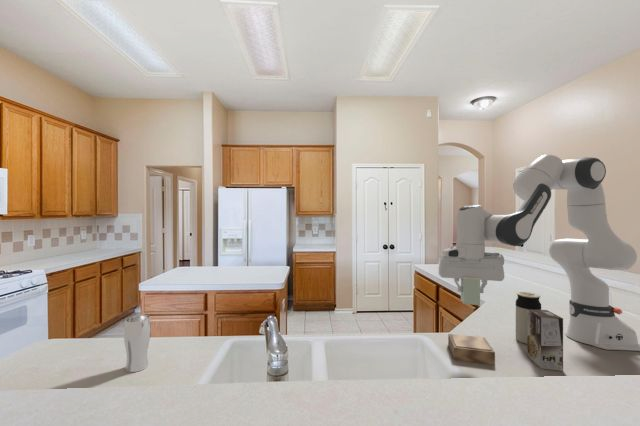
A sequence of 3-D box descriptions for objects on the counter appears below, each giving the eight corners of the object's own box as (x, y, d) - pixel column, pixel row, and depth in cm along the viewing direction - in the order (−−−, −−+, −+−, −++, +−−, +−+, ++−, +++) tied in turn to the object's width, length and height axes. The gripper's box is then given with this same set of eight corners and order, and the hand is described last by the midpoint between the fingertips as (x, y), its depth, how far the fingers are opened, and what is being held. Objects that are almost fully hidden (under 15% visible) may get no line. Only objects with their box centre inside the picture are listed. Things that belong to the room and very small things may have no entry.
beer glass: (131, 362, 93) (132, 314, 93) (154, 361, 94) (155, 314, 94) (118, 373, 86) (119, 322, 86) (142, 373, 87) (143, 322, 87)
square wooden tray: (484, 348, 105) (484, 336, 105) (494, 365, 94) (494, 351, 94) (448, 344, 108) (448, 333, 108) (454, 359, 97) (454, 346, 97)
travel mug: (520, 344, 109) (519, 295, 110) (512, 336, 117) (512, 290, 117) (545, 347, 107) (545, 297, 107) (536, 338, 115) (536, 292, 115)
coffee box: (564, 371, 90) (564, 318, 90) (540, 369, 91) (540, 317, 92) (547, 357, 99) (547, 309, 99) (526, 355, 100) (526, 308, 101)
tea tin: (476, 301, 103) (476, 275, 103) (480, 305, 98) (480, 278, 98) (460, 299, 104) (460, 274, 105) (463, 304, 99) (463, 277, 100)
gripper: (501, 252, 102) (501, 292, 102) (437, 249, 107) (437, 287, 107) (507, 254, 96) (507, 296, 96) (440, 251, 101) (440, 292, 101)
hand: (470, 292), depth 101 cm, fingers closed on tea tin, 5 cm apart
